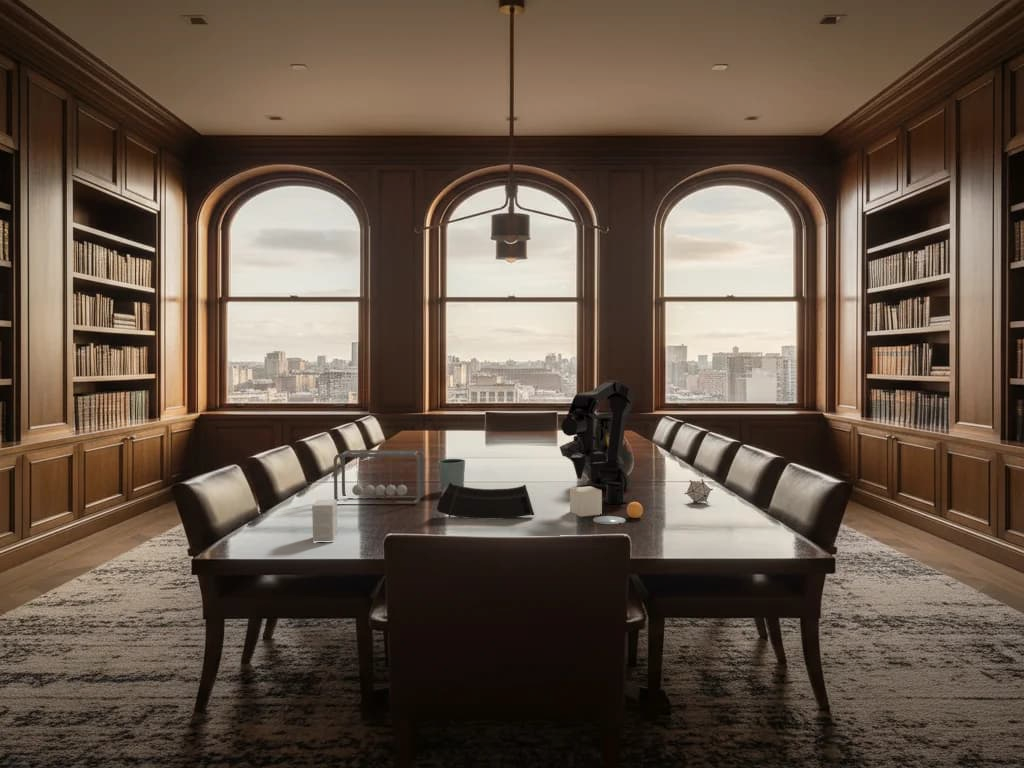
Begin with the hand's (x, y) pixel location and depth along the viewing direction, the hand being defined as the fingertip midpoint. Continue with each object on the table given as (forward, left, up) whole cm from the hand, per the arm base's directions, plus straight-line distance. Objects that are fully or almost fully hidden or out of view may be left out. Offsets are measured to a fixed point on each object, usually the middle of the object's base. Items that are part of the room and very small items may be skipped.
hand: (585, 480), depth 226 cm
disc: (+12, +2, -10) cm, 16 cm away
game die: (+1, +43, -11) cm, 44 cm away
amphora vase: (-39, +29, -11) cm, 50 cm away
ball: (+12, +11, -8) cm, 18 cm away
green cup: (-51, -30, -11) cm, 60 cm away
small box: (+1, -82, -11) cm, 83 cm away
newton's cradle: (-44, -58, -11) cm, 74 cm away
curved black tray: (-7, -32, -11) cm, 34 cm away
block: (0, 0, -10) cm, 10 cm away
